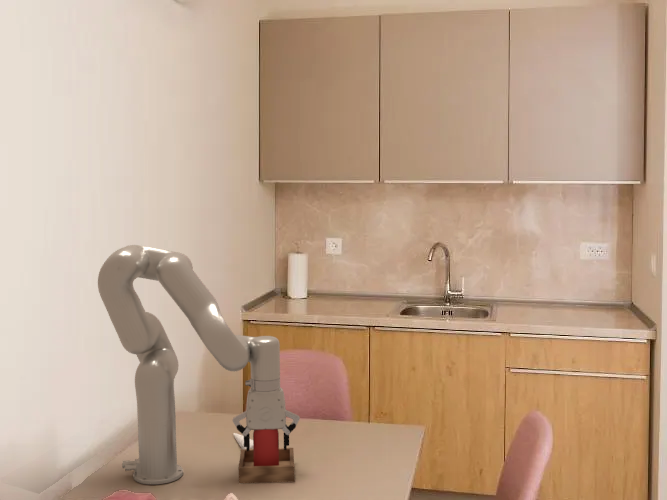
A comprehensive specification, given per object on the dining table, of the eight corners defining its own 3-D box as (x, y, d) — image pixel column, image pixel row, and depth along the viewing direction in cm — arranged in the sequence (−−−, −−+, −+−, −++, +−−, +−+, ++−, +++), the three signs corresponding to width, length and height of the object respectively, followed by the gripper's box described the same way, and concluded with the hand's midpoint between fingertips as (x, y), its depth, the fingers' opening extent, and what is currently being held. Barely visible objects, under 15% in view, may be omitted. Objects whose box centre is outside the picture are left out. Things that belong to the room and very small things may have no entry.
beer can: (284, 467, 208) (283, 423, 207) (268, 476, 202) (268, 430, 201) (264, 463, 211) (263, 419, 210) (248, 471, 206) (247, 425, 205)
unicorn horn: (245, 433, 239) (245, 418, 239) (265, 460, 217) (264, 443, 216) (230, 435, 238) (230, 419, 237) (248, 462, 215) (247, 445, 215)
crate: (238, 483, 199) (238, 468, 199) (241, 463, 213) (241, 449, 213) (294, 481, 200) (294, 466, 200) (293, 462, 214) (293, 447, 214)
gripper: (231, 389, 200) (232, 455, 202) (299, 387, 202) (300, 452, 203) (232, 381, 208) (234, 445, 209) (298, 379, 209) (299, 443, 211)
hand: (266, 448), depth 206 cm, fingers open, 9 cm apart
